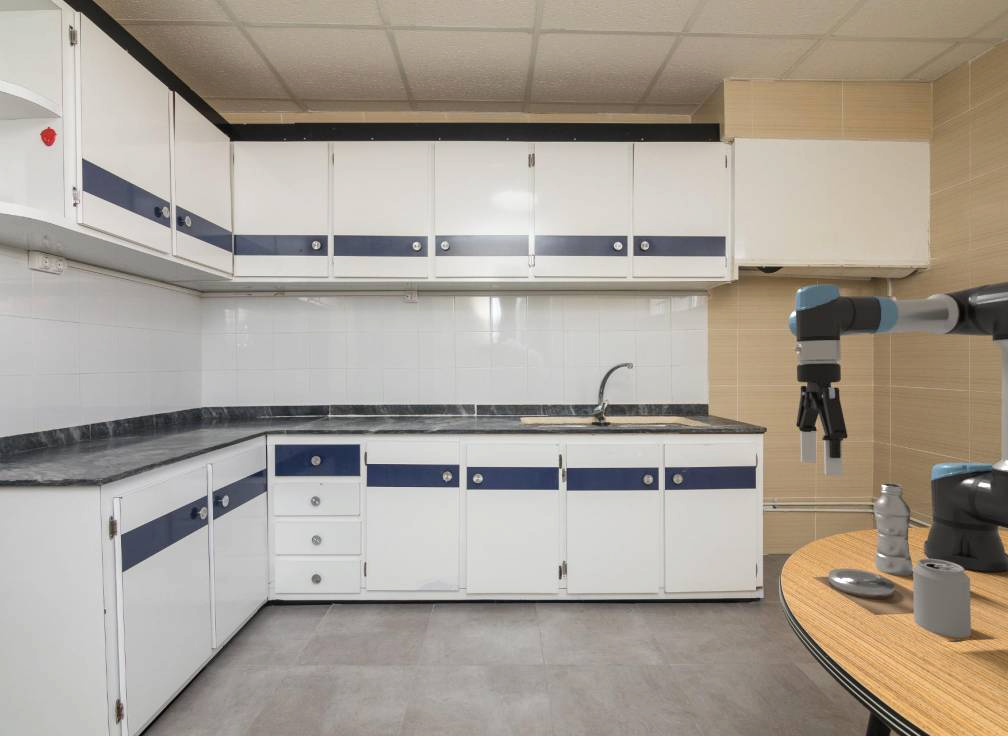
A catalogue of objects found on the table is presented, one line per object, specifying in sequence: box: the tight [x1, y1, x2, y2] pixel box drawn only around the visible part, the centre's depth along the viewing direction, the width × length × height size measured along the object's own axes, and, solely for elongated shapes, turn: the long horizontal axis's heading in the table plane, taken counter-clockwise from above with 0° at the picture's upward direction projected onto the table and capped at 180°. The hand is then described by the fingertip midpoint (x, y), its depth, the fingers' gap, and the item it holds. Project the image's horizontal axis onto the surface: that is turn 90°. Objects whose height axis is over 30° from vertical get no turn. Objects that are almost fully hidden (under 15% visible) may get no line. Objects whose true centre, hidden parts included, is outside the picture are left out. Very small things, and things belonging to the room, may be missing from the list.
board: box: [812, 574, 914, 616], centre depth 102 cm, size 15×17×1 cm
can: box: [912, 558, 972, 643], centre depth 89 cm, size 8×8×12 cm
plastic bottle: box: [873, 483, 914, 577], centre depth 113 cm, size 6×7×20 cm
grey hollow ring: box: [828, 568, 894, 600], centre depth 104 cm, size 11×11×2 cm
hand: (820, 468), depth 103 cm, fingers open, 13 cm apart
